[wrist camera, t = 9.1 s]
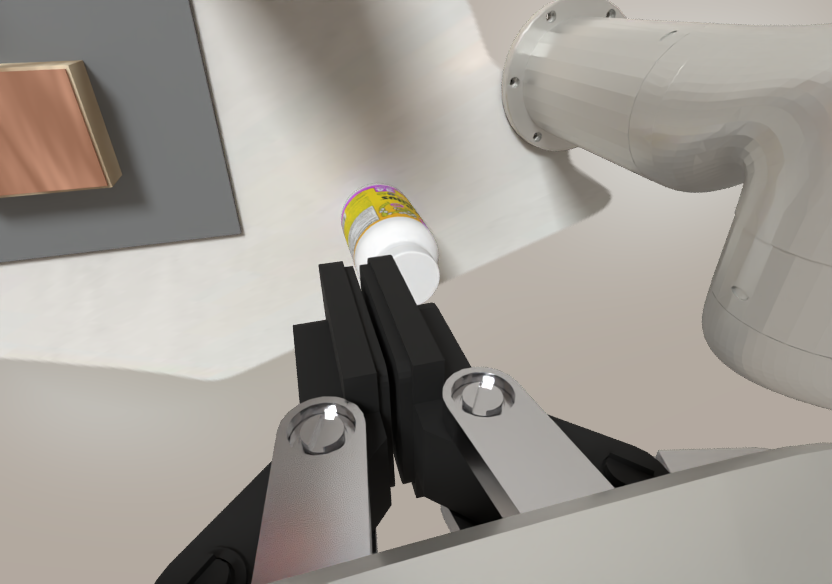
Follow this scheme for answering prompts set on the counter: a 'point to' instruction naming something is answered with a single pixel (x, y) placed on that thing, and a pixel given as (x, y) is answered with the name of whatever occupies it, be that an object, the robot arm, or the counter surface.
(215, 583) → the robot arm
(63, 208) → the rubber mat
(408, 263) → the supplement bottle
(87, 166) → the birch tile
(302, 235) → the counter surface
